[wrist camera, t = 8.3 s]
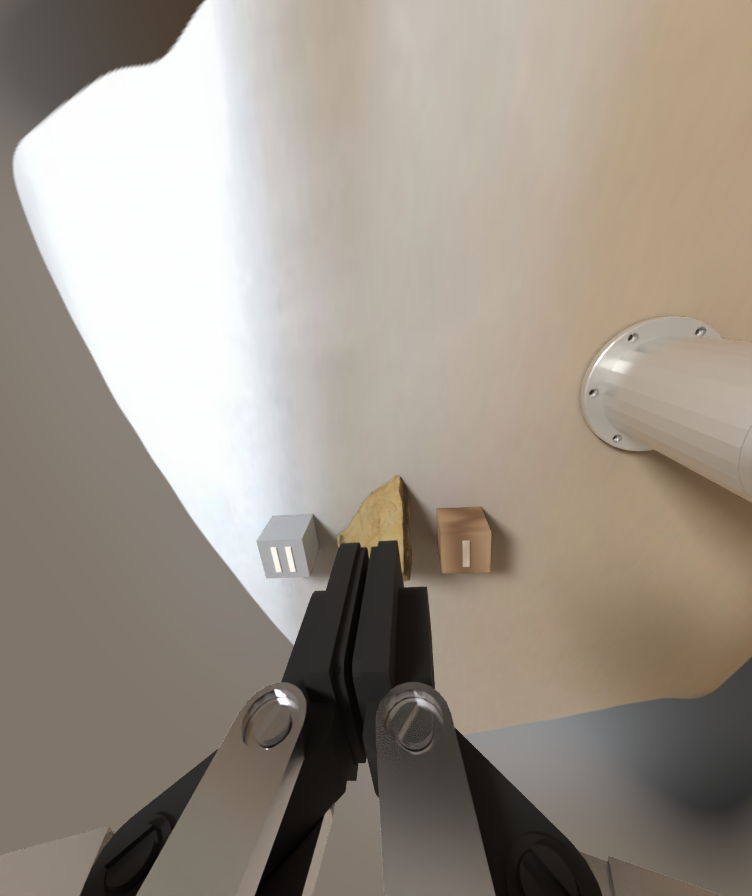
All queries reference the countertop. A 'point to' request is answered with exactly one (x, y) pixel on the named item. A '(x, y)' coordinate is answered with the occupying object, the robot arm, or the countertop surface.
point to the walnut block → (463, 540)
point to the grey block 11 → (289, 546)
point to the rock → (383, 522)
